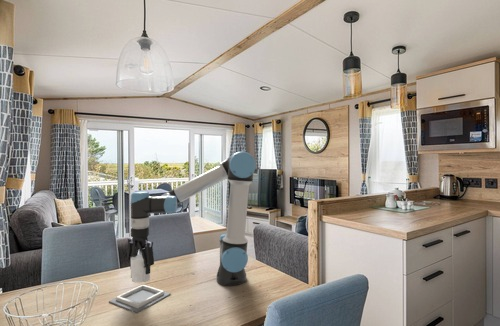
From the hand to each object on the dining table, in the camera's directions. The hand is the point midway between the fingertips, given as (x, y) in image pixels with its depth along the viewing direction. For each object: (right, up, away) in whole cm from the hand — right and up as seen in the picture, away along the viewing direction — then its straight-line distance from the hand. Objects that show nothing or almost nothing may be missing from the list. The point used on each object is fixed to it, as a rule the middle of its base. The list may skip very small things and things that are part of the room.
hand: (140, 278), depth 123 cm
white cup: (0, 0, 0) cm, 0 cm away
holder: (0, -9, 0) cm, 9 cm away
